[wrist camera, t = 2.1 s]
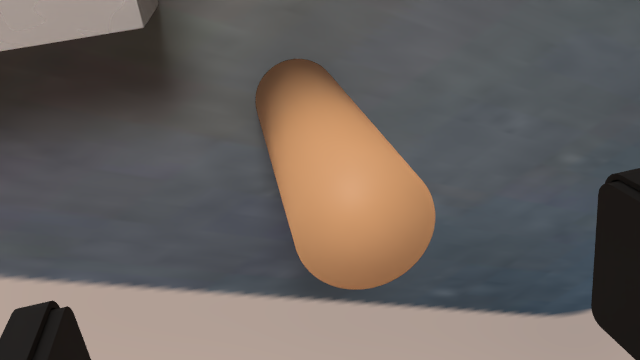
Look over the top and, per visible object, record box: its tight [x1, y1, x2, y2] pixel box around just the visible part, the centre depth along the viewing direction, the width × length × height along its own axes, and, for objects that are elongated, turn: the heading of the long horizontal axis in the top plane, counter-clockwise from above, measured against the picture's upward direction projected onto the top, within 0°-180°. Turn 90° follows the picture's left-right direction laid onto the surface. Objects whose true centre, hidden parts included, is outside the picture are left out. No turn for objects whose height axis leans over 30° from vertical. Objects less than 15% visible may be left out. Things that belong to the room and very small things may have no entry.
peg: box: [256, 59, 435, 290], centre depth 16 cm, size 3×3×10 cm
